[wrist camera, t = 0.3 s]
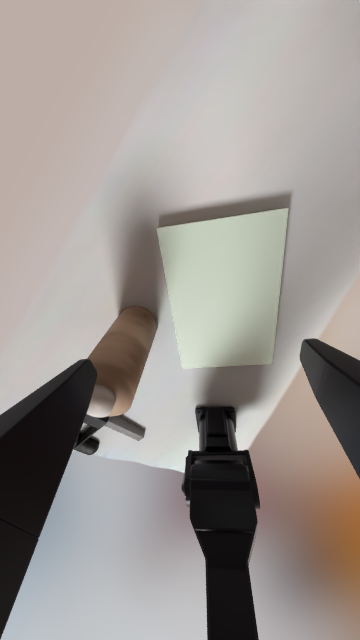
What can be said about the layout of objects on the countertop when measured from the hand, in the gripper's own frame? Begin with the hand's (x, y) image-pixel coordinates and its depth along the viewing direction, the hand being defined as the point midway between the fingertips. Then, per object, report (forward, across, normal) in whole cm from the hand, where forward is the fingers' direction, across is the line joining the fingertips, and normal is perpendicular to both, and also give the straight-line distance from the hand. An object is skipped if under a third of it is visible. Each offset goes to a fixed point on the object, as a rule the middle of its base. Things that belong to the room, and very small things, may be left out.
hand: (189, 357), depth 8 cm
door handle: (+15, +22, +27) cm, 38 cm away
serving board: (+15, -3, +6) cm, 16 cm away
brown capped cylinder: (+15, +8, +7) cm, 19 cm away
